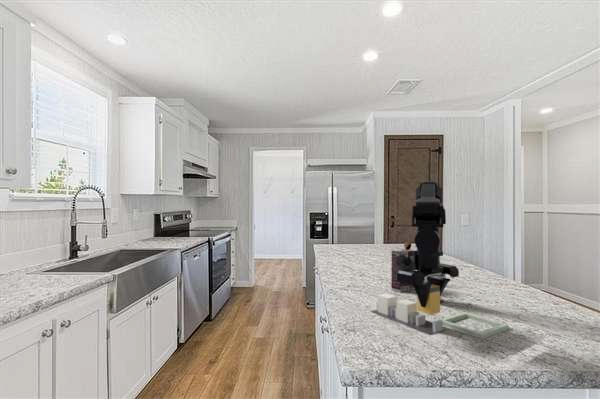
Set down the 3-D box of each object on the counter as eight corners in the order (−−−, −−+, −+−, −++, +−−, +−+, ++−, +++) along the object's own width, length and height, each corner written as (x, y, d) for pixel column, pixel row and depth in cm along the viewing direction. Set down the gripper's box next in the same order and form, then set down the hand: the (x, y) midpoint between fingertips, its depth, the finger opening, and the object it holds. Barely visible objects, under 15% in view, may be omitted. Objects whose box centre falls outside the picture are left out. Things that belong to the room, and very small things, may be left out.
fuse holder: (388, 311, 107) (388, 299, 107) (449, 334, 88) (449, 319, 88) (369, 316, 103) (369, 303, 103) (430, 341, 84) (430, 325, 84)
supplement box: (400, 292, 129) (400, 252, 129) (390, 290, 133) (390, 250, 133) (414, 289, 134) (414, 250, 134) (405, 287, 138) (404, 248, 138)
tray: (464, 320, 99) (464, 311, 99) (508, 334, 88) (508, 324, 88) (438, 328, 92) (438, 319, 92) (482, 344, 82) (482, 334, 82)
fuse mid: (406, 316, 98) (405, 299, 98) (417, 320, 95) (416, 302, 95) (396, 318, 96) (396, 301, 96) (407, 322, 93) (407, 305, 93)
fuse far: (387, 309, 105) (387, 293, 105) (396, 312, 101) (396, 296, 101) (378, 311, 103) (377, 295, 103) (387, 315, 99) (387, 298, 99)
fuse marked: (427, 308, 92) (427, 282, 92) (440, 312, 88) (440, 285, 88) (417, 310, 90) (417, 284, 90) (430, 314, 86) (430, 288, 86)
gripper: (425, 242, 101) (426, 293, 101) (381, 246, 91) (381, 303, 91) (459, 246, 91) (460, 302, 91) (413, 251, 82) (414, 315, 82)
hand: (428, 305), depth 89 cm, fingers closed on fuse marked, 4 cm apart
